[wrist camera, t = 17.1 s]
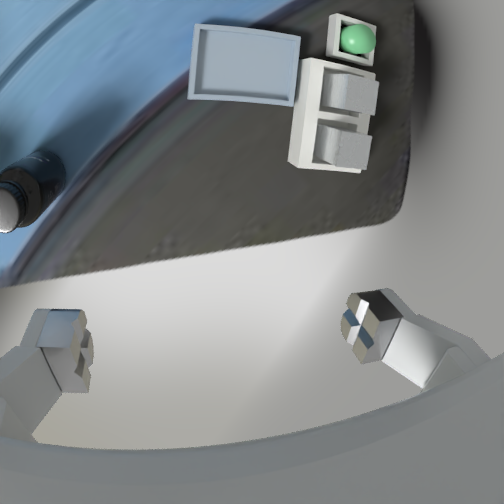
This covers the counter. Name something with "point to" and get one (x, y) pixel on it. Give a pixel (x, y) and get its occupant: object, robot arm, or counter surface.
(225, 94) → the tote
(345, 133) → the block
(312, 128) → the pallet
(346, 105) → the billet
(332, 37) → the button housing
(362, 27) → the button
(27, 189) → the supplement bottle
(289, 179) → the counter surface
